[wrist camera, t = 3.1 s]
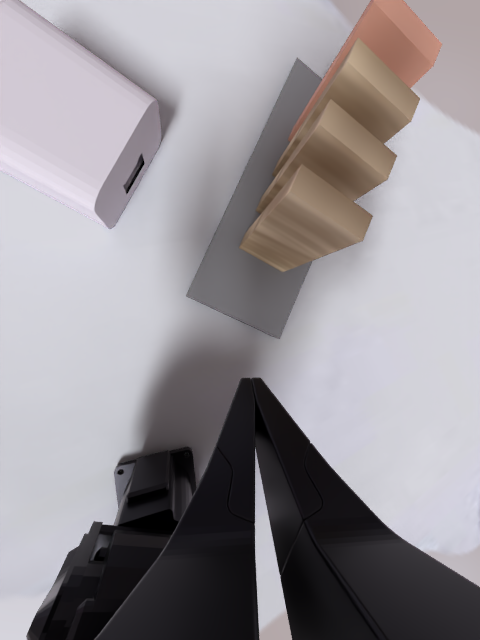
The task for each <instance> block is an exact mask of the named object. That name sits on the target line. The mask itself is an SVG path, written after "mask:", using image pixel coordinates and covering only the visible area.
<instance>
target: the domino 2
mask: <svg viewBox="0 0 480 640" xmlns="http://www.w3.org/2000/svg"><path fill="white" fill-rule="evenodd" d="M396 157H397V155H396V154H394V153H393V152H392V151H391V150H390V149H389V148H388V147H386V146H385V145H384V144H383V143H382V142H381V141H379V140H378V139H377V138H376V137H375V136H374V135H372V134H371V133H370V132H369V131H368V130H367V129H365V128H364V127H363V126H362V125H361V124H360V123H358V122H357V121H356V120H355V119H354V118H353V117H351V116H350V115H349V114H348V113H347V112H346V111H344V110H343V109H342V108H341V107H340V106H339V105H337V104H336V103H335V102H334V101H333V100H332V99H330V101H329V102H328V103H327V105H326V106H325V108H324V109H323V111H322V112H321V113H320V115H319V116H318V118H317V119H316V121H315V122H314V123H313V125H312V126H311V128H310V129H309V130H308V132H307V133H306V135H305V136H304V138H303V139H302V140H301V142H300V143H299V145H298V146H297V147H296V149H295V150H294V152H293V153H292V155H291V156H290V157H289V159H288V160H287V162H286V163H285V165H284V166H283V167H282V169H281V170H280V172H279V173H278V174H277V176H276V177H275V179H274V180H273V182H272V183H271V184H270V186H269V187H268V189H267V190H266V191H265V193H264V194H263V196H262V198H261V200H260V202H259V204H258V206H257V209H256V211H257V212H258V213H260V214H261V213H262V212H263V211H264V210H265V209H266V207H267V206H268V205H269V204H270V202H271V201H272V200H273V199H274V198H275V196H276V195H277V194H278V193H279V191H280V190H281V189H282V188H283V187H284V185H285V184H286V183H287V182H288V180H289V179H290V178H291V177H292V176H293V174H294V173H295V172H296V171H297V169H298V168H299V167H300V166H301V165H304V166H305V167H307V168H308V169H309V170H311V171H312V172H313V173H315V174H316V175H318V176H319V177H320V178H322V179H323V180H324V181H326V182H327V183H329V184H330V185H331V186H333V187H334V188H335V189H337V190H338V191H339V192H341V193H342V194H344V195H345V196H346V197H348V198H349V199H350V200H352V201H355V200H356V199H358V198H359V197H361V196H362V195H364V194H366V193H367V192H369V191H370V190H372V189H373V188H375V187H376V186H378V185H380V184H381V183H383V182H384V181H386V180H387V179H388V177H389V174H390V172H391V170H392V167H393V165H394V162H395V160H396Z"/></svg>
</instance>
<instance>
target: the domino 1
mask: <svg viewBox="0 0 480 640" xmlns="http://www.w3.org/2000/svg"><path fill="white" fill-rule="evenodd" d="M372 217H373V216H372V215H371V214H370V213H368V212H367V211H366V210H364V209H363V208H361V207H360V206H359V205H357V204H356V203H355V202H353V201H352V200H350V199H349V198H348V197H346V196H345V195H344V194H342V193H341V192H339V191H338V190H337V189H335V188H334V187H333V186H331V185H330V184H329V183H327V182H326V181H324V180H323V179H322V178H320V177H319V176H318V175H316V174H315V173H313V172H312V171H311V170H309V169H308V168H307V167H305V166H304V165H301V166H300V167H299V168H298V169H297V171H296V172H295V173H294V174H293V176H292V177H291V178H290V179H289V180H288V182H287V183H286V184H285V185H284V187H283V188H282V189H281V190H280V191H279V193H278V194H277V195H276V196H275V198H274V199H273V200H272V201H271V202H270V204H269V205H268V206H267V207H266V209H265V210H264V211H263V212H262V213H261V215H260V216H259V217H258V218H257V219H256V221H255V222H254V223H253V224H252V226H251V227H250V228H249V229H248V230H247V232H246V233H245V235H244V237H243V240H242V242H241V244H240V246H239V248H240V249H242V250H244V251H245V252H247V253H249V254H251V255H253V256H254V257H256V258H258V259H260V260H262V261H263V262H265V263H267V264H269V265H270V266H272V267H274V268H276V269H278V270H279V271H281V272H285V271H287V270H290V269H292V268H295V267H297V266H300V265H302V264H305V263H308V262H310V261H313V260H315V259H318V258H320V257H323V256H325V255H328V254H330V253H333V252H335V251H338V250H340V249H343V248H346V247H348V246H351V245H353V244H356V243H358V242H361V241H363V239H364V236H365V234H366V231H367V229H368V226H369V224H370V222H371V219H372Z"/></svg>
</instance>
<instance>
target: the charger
mask: <svg viewBox="0 0 480 640" xmlns="http://www.w3.org/2000/svg"><path fill="white" fill-rule="evenodd" d="M161 139H162V133H161V124H160V114H159V104H158V100H157V99H155V98H154V97H152V96H151V95H150V94H148V93H147V92H146V91H144V90H143V89H141V88H140V87H139V86H137V85H136V84H134V83H133V82H132V81H130V80H129V79H128V78H126V77H125V76H123V75H122V74H121V73H119V72H118V71H116V70H115V69H114V68H112V67H111V66H110V65H108V64H107V63H105V62H104V61H103V60H101V59H100V58H99V57H97V56H96V55H94V54H93V53H92V52H90V51H89V50H87V49H86V48H85V47H83V46H82V45H81V44H79V43H78V42H76V41H75V40H74V39H72V38H71V37H69V36H68V35H67V34H65V33H64V32H63V31H61V30H60V29H58V28H57V27H56V26H54V25H53V24H52V23H50V22H49V21H47V20H46V19H45V18H43V17H42V16H40V15H39V14H38V13H36V12H35V11H34V10H32V9H31V8H29V7H28V6H27V5H25V4H24V3H22V2H21V1H19V0H2V1H0V170H1V171H3V172H4V173H6V174H8V175H10V176H12V177H14V178H16V179H17V180H19V181H21V182H23V183H25V184H27V185H29V186H30V187H32V188H34V189H36V190H38V191H40V192H42V193H43V194H45V195H47V196H49V197H51V198H53V199H55V200H56V201H58V202H60V203H62V204H64V205H66V206H68V207H69V208H71V209H73V210H75V211H77V212H79V213H81V214H82V215H84V216H86V217H88V218H90V219H92V220H94V221H95V222H97V223H99V224H101V225H103V226H105V227H107V228H108V229H111V228H113V227H114V226H115V224H116V223H117V221H118V219H119V217H120V216H121V214H122V212H123V210H124V209H125V207H126V205H127V203H128V201H129V200H130V198H131V196H132V194H133V193H134V191H135V189H136V187H137V186H138V184H139V182H140V180H141V178H142V177H143V175H144V173H145V171H146V170H147V168H148V166H149V164H150V162H151V161H152V159H153V157H154V155H155V153H156V152H157V150H158V148H159V146H160V143H161ZM143 160H144V163H145V164H144V166H143V167H142V169H141V171H140V173H139V174H138V176H137V178H136V180H135V182H134V183H133V185H132V187H131V189H130V190H129V192H128V194H126V190H127V188H128V186H129V185H130V183H131V181H132V179H133V178H134V176H135V174H136V172H137V170H138V169H139V167H140V165H141V163H142V162H143Z"/></svg>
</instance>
